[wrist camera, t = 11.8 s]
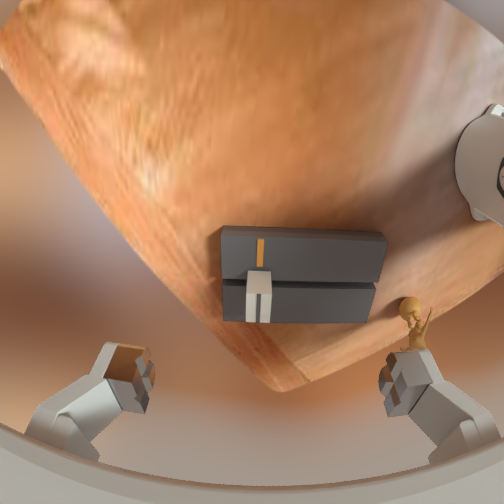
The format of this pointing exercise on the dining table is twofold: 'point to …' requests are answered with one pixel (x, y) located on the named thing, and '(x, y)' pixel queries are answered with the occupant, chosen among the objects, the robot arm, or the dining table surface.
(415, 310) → the figurine
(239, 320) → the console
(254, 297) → the fader tab
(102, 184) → the dining table surface
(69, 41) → the dining table surface
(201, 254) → the dining table surface
